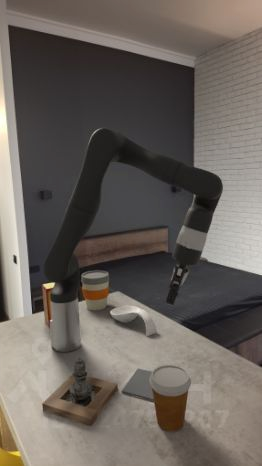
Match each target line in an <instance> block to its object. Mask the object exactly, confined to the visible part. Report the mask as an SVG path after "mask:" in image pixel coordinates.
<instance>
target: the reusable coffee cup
mask: <svg viewBox="0 0 262 466" xmlns="http://www.w3.org/2000/svg"><path fill="white" fill-rule="evenodd" d="M80 278H81V279H80V282H81V283H82V287H81V290H82V295H83V298H84V300H85V305H86V309H87V310H89V311H100V310H103V309H105V308H107V305H108V296H109V293H110V292H109V291H110V285H109V283H110V274H109V272H108V271H105V270H89V271H85V272H83V273H82V274H81V276H80Z"/></svg>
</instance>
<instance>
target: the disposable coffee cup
mask: <svg viewBox="0 0 262 466" xmlns="http://www.w3.org/2000/svg"><path fill="white" fill-rule="evenodd" d="M151 372H152V374H151V376H150V378H149V382H150V385H151V387H152V392H153V398H154V401H153V402H154V403H153V404H154V409H155V417H156V423H157V426H158V427H159V428H161V430H164V431H166V432H171V433H172V432H177V431H179V430H181V429H182V428H183V427H184V424H185V419H186V411H187V404H188V403H187V402H188V396H189V389H190V387H191V384H192V380H191V377H190V375H189V372H188V371H187V370H186V369H185V368H183V367H181V366H180V365H176V364H162V365H158V366H156V367H155V368H154V369H153V370H152V371H151Z"/></svg>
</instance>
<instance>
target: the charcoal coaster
mask: <svg viewBox="0 0 262 466" xmlns="http://www.w3.org/2000/svg"><path fill="white" fill-rule="evenodd" d="M151 374H152V371H151V370H146V369H142V368H137V369H136V371H134V373H133V375H132V376H131V377H130V379H128V381H127V382H126V384H125V386H124V387H123V388H122V389H121V393H122V394H125V395H128V396H129V395H130V396H132V397H133V396H134V397H137V398H139V399H144V400H146V401H147V400H148V401H151V402H154V398H153V392H152V387H151V385H150V382H149V378H150V376H151Z"/></svg>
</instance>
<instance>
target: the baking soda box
mask: <svg viewBox="0 0 262 466" xmlns="http://www.w3.org/2000/svg"><path fill="white" fill-rule="evenodd" d="M54 285H55V283H53V282H49V283H43V284H41V289H42V302H43V313H44V323H46V325H47V327H48V328H50V320H52V315H51V302H50V292H51V290H52V288H53V287H54Z"/></svg>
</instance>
